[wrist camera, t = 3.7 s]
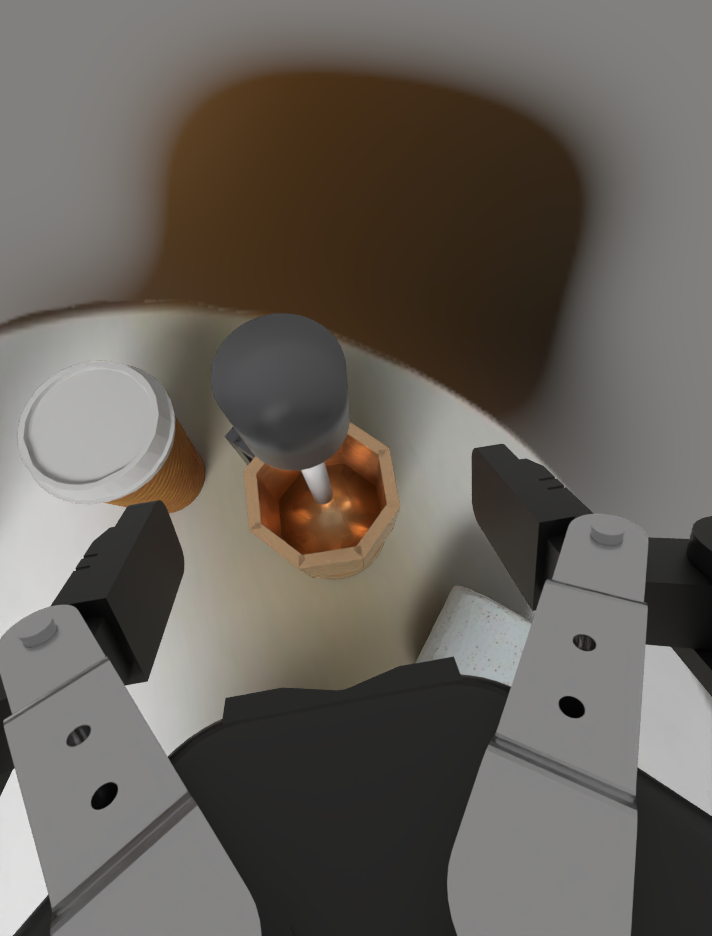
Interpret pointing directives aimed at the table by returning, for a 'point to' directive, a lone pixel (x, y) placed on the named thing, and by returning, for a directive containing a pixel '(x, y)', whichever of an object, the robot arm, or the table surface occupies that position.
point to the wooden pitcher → (324, 507)
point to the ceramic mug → (478, 636)
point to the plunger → (285, 394)
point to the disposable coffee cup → (108, 439)
